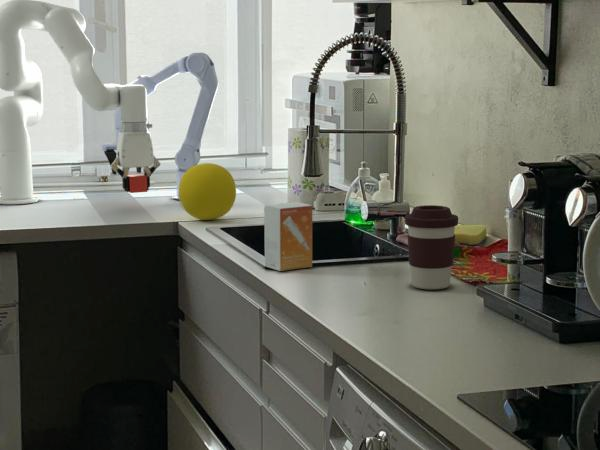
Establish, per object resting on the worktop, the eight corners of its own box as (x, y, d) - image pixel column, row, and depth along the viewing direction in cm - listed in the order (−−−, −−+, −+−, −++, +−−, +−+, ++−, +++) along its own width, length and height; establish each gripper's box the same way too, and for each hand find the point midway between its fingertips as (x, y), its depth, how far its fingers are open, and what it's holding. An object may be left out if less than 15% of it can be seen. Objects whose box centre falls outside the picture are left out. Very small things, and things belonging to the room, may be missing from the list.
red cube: (147, 191, 303) (146, 175, 302) (130, 192, 301) (130, 176, 300) (142, 189, 307) (141, 174, 307) (125, 190, 305) (125, 175, 304)
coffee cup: (400, 280, 202) (400, 204, 200) (450, 279, 203) (451, 203, 201) (409, 292, 193) (410, 212, 190) (462, 291, 193) (463, 211, 191)
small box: (280, 271, 212) (279, 208, 209) (264, 266, 217) (263, 204, 215) (313, 267, 216) (313, 204, 214) (296, 262, 221) (296, 201, 219)
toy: (226, 213, 288) (225, 159, 285) (243, 221, 274) (242, 164, 271) (173, 217, 282) (171, 161, 280) (187, 225, 268) (186, 167, 266)
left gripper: (158, 126, 308) (160, 187, 311) (101, 128, 301) (104, 191, 304) (166, 127, 301) (168, 190, 304) (109, 130, 294) (111, 194, 297)
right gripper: (143, 126, 323) (145, 170, 325) (97, 128, 316) (99, 173, 318) (151, 128, 316) (152, 172, 319) (104, 130, 310) (106, 175, 312)
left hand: (136, 189), depth 304 cm, fingers closed on red cube, 5 cm apart
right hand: (126, 173), depth 318 cm, fingers open, 7 cm apart
